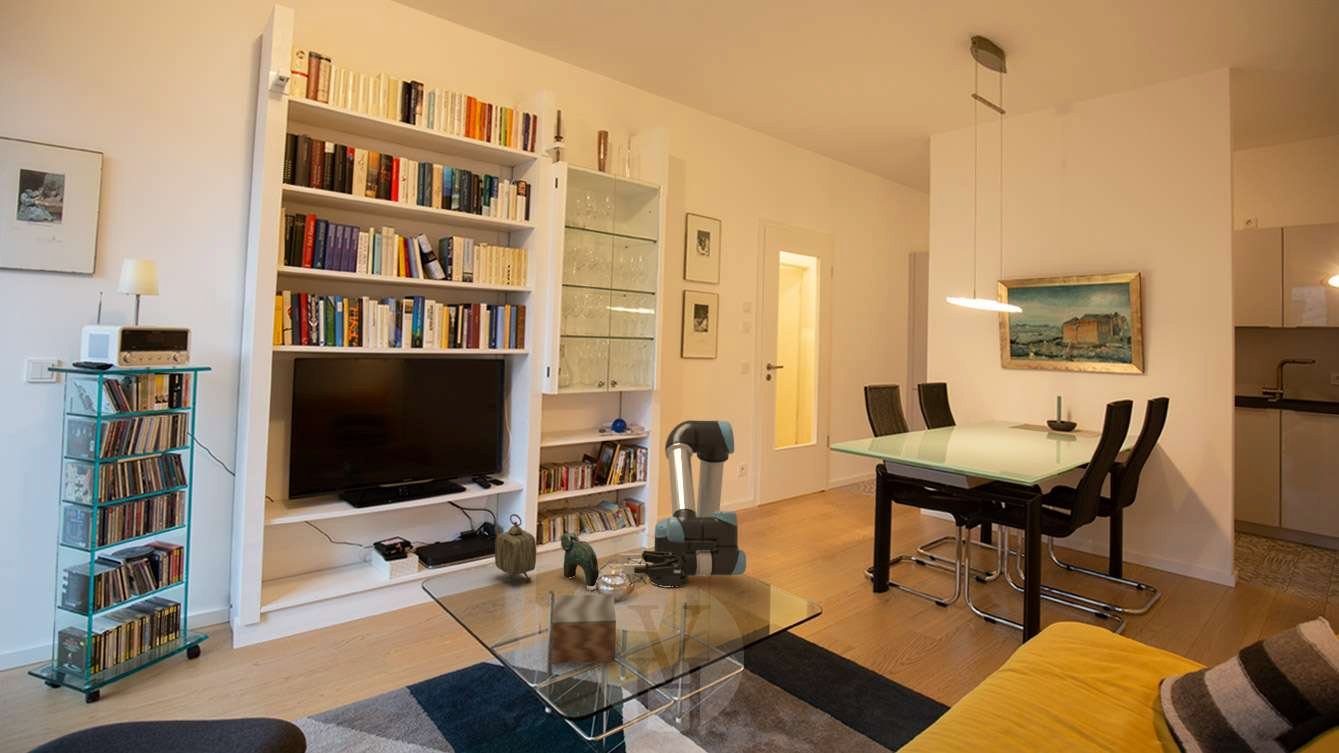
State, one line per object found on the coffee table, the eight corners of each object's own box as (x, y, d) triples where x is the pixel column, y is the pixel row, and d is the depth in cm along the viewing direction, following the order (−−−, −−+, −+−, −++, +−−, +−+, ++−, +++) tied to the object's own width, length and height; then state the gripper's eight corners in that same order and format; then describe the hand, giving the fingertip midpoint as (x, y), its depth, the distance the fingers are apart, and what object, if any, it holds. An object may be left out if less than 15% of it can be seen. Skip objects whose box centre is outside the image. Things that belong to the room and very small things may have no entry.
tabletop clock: (535, 582, 239) (536, 516, 237) (515, 589, 232) (515, 521, 230) (513, 571, 249) (514, 508, 247) (493, 577, 242) (493, 512, 240)
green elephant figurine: (558, 575, 245) (559, 524, 244) (573, 571, 250) (573, 521, 248) (588, 592, 231) (589, 538, 229) (603, 588, 235) (604, 535, 233)
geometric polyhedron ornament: (640, 597, 193) (648, 579, 187) (615, 585, 194) (622, 566, 188) (651, 574, 200) (658, 556, 194) (626, 562, 201) (633, 544, 195)
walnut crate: (612, 630, 202) (613, 594, 202) (615, 660, 185) (615, 620, 184) (554, 632, 200) (555, 595, 199) (551, 663, 182) (552, 622, 181)
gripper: (701, 588, 187) (623, 589, 184) (689, 562, 208) (619, 562, 204) (702, 563, 186) (625, 564, 183) (690, 539, 207) (620, 540, 204)
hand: (621, 563), depth 194 cm, fingers closed on geometric polyhedron ornament, 8 cm apart
